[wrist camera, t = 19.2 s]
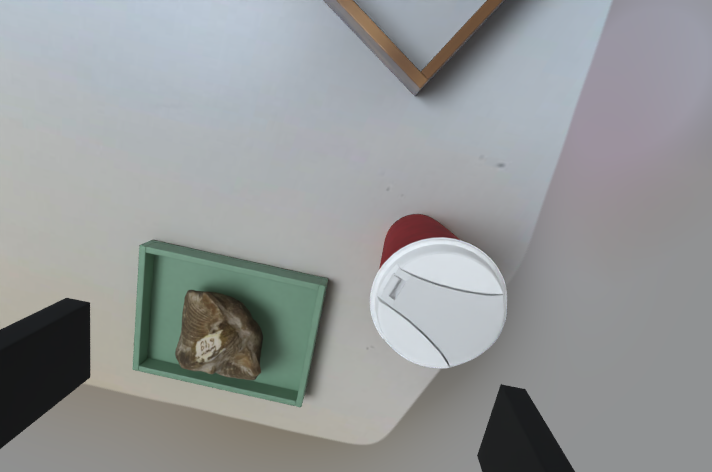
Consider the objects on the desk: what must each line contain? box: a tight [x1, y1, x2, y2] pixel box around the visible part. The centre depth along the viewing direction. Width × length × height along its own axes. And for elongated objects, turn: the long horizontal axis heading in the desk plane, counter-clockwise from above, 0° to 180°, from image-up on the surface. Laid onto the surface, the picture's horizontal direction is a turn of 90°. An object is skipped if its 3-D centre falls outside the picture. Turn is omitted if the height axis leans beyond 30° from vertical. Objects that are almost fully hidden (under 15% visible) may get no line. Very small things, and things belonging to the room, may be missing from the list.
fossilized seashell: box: [175, 290, 263, 380], centre depth 33 cm, size 8×7×10 cm
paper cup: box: [370, 214, 507, 368], centre depth 26 cm, size 8×8×14 cm
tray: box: [133, 240, 328, 407], centre depth 35 cm, size 17×13×2 cm
